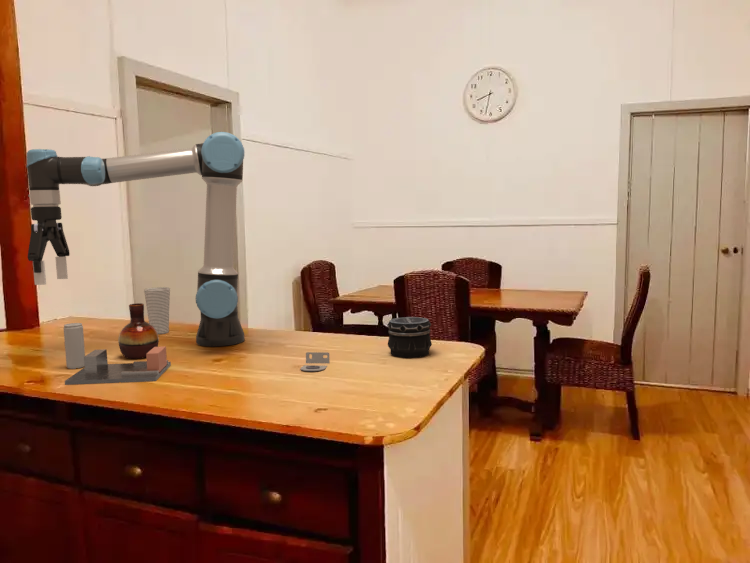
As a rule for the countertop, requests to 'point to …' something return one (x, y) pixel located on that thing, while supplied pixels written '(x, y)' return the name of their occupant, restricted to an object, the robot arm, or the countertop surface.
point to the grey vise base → (112, 371)
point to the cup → (158, 308)
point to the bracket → (315, 361)
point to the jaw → (156, 358)
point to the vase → (137, 335)
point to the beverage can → (74, 345)
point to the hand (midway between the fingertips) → (51, 281)
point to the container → (409, 337)
